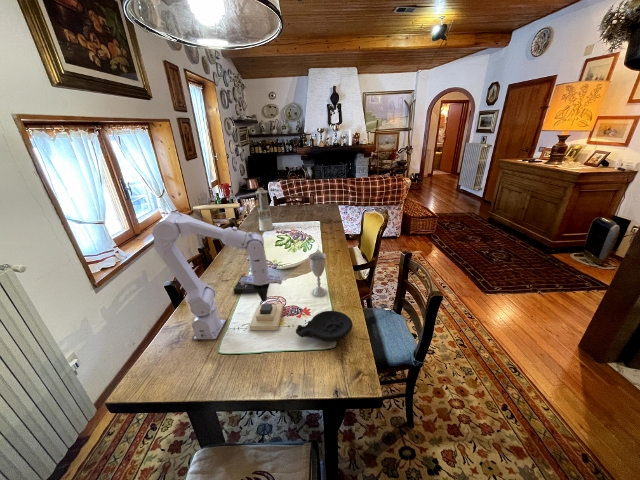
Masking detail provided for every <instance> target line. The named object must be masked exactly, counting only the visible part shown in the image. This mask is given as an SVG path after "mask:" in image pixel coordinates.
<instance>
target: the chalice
mask: <svg viewBox="0 0 640 480" xmlns="http://www.w3.org/2000/svg"><path fill="white" fill-rule="evenodd" d="M326 255H327V254H326V253H324V252H321V251H319V252H312V253H310V254H309V255H308V259H309V265H310V266H309V267H310V270H311V272H312V274H313V275H314V277H316V281H317V282H316V285H317V287H315V289H314V291H313V295H314V296H315V297H324V295H325V294H326V291H325V289H324V288H323V287H322V286H321V284H322V283H321V276H322V275H323V273H324V271H325V268H326V260H325V259H326Z"/></svg>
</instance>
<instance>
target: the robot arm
mask: <svg viewBox="0 0 640 480" xmlns="http://www.w3.org/2000/svg"><path fill="white" fill-rule="evenodd" d="M192 234H197V235H201V236H205V237H209V238H213V239H218V240H220V241H221V242H222V244H223V245H225V246H229V247H232V248H235V249H240V250H243V251H245V252H246V254H248V262H249V267H250V272H251V274H250V275H252V276H249V277H242V278H241V277H240V278H241V280H240V282H241V285H244V284H254V287H253V289H254V290H255V291H256V292H257V293H256V294H257V295H258V296H259V298H260V299H261V302H267V300H268V293H269V292H268V291H269V287H270V284H278V285H282V284H283V276H278V275H277V276H276V275H271V274H269V267H268V261H267V256H266V251H265V240H264V237H263V236H262V234H261V233H259V232H257V231H256V232H255V231H254V232H251V231H249V232H248V231H247V232H246V231H243V230H240V229H238V227H236V226H233V227H231V226H228V227H227V228H222V227H219V226H217V225H213V224H211V223H208V222H206V221H202V220H200V219H196V218H194V217H192V216H191V215H188V214H184V213H183V214H182V213H180V212H178V211H171V212H169V213H167V214H166V215H165V217H163V218H162V219H161V220H160V221H158V222H157V223H156V224H155V225H154V227H153V229H152V231H151V236H152V237H153V248H154V250H155V252H156V254H158V256H159V257H160V259H161V260H162V261H163V263H164V264H165V266H166V267H167V268H168V269H169V271H170V272H171V273H172V275H173V276H174V278H175V279H176V280H177V282H179V284H180V285H181V287H182V288H183V290H184V291H185V292H186V299H187V301H186V302H187V303H188V305H189V307H190V308H189V309H190V312H191V314H192V315H194V319H193V321H192V323H191V328H192V331H193V333H194V337H193V339H194V340H216V339H217V337H218V336H219V333H220V332H221V331H222V328H223V327H224V325H225V323H226V319H221V318H220V314H219V310H218V305H217V303H216V302H215V300H214V299H215V296H216V291H215V289H214V288H213V287H211V286H209V285H208V284H207V282H205V281H201V279H200V278H199V277H198V275H197V273H196V272H195V271H194V269H193V268H192V267H191V265H190V264H189V262H188V260H187V259H186V258H185V256H184V255H183V254H182V252H181V250H180V248H178V246H177V242H178V239H179V238H183V237H186V236H190V235H192ZM179 236H180V237H179Z"/></svg>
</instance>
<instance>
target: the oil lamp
mask: <svg viewBox="0 0 640 480" xmlns="http://www.w3.org/2000/svg"><path fill="white" fill-rule="evenodd" d="M352 329H353V321H352V319H351V317H349V316H348V315H347V314H346V313H343V312H340V311H337V310H324V311H321V312H319V313H317V314H316V315H314V316H313V317H312V318H311V320H308V321H307V324H306V325H301V324H298V325H297V327H296V329H295V334H296V335H297V336H299V337H300V338H312V339H315V340H316V339H317V340H320V341H323V342H329V343H332V342H337V341H340V340H341V339H343V338H345V337H346V336H347V335H349V333H350V332H351V331H352Z"/></svg>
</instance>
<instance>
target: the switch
mask: <svg viewBox="0 0 640 480" xmlns="http://www.w3.org/2000/svg"><path fill="white" fill-rule="evenodd" d="M261 305H262V306H261V309H260V313H261V314H270V313H271V310H272V303H262V304H261Z"/></svg>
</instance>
